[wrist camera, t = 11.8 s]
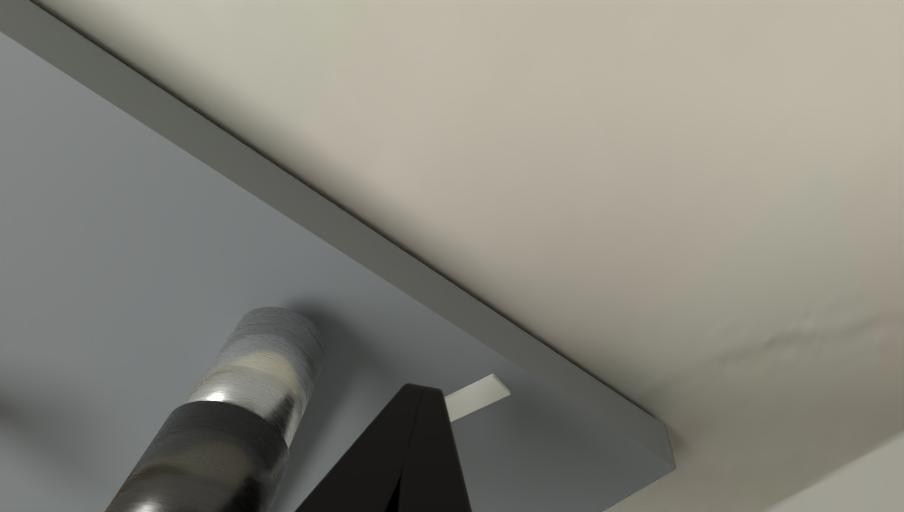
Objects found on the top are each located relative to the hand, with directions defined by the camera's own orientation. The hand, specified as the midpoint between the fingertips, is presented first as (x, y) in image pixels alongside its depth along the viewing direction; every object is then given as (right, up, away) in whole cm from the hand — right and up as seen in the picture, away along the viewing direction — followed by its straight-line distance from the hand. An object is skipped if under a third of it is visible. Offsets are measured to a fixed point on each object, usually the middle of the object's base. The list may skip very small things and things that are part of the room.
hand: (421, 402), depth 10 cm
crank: (-4, -2, +4) cm, 6 cm away
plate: (-7, -3, +7) cm, 10 cm away
